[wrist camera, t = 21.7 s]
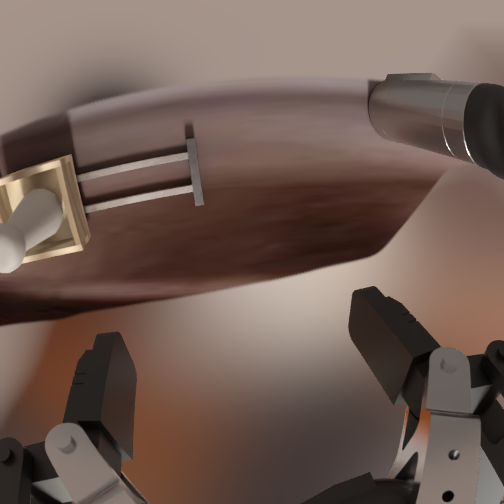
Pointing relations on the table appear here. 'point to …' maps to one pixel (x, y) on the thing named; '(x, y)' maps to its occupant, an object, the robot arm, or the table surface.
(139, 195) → the rail
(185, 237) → the table surface
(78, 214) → the wooden tray
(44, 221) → the salt shaker
